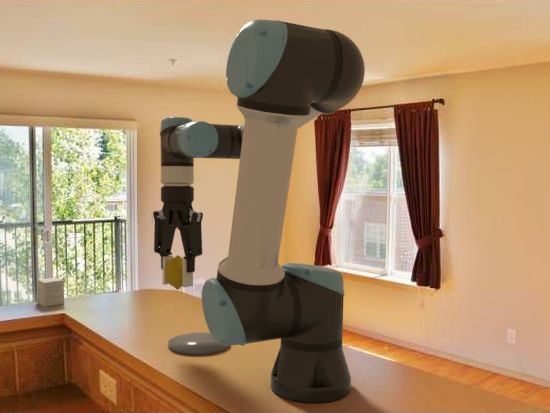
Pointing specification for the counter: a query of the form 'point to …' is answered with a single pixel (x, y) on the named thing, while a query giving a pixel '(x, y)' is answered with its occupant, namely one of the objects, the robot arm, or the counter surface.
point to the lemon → (175, 272)
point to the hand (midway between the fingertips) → (177, 284)
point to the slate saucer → (195, 344)
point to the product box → (50, 291)
